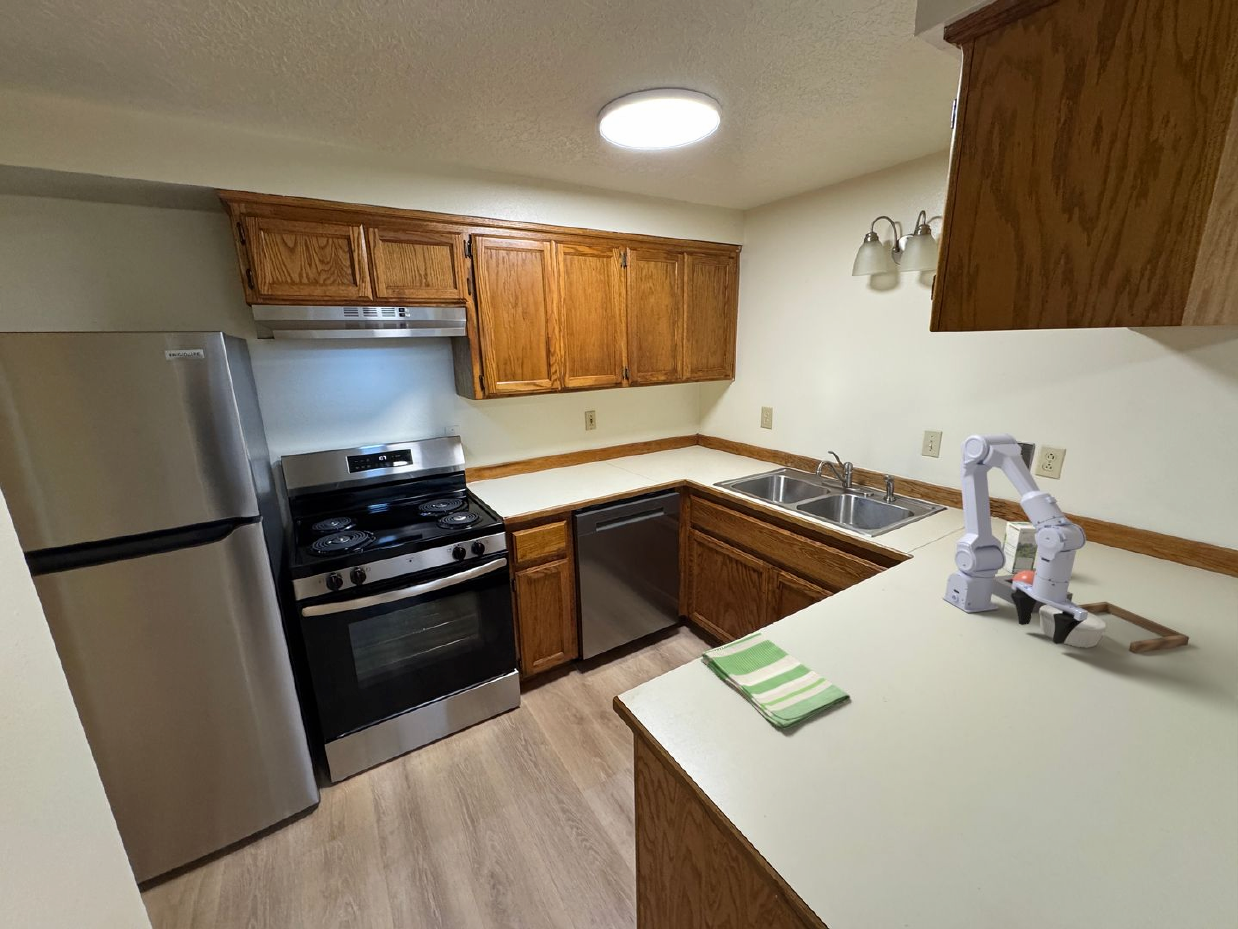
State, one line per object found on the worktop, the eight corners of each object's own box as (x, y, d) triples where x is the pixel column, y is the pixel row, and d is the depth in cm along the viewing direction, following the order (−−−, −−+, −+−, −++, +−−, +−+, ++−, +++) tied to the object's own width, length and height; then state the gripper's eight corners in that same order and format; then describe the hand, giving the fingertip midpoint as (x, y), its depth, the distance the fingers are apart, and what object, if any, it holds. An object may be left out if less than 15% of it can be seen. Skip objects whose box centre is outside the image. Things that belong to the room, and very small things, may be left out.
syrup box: (1018, 566, 147) (1027, 521, 144) (1032, 575, 141) (1042, 528, 138) (998, 565, 148) (1006, 520, 144) (1011, 574, 142) (1020, 527, 139)
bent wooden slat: (1134, 653, 104) (1136, 645, 104) (1055, 615, 120) (1057, 607, 119) (1187, 645, 107) (1189, 636, 107) (1103, 608, 122) (1105, 601, 122)
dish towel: (782, 736, 83) (783, 723, 82) (697, 663, 103) (698, 651, 102) (850, 701, 91) (851, 688, 91) (759, 639, 111) (760, 628, 111)
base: (1031, 613, 121) (1033, 598, 120) (986, 590, 132) (989, 577, 131) (1069, 608, 123) (1072, 593, 122) (1023, 586, 134) (1025, 573, 133)
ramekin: (1043, 643, 108) (1047, 621, 107) (1030, 619, 118) (1033, 599, 117) (1110, 657, 103) (1116, 634, 102) (1091, 631, 113) (1095, 610, 112)
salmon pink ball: (1029, 604, 123) (1034, 579, 122) (1003, 591, 130) (1007, 567, 128) (1052, 601, 125) (1057, 576, 123) (1025, 589, 131) (1029, 565, 130)
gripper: (1104, 590, 100) (1091, 649, 103) (1033, 561, 113) (1023, 614, 116) (1077, 594, 98) (1063, 653, 101) (1008, 564, 112) (998, 617, 115)
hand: (1040, 633), depth 109 cm, fingers open, 7 cm apart
